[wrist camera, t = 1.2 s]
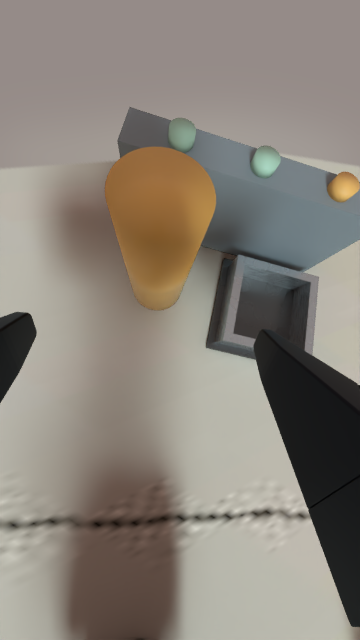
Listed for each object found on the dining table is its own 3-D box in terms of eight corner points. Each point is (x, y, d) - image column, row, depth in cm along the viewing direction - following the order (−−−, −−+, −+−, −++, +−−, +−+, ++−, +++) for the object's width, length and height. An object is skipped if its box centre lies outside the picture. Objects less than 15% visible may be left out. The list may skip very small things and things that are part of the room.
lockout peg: (189, 295, 22) (236, 214, 10) (148, 319, 21) (142, 263, 9) (165, 256, 22) (179, 132, 10) (123, 278, 21) (83, 169, 9)
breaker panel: (303, 242, 25) (398, 170, 15) (300, 273, 24) (398, 216, 14) (141, 195, 23) (132, 80, 14) (131, 226, 22) (115, 127, 13)
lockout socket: (305, 282, 24) (325, 272, 21) (296, 369, 22) (317, 370, 19) (223, 260, 23) (232, 246, 20) (206, 347, 21) (214, 346, 18)
